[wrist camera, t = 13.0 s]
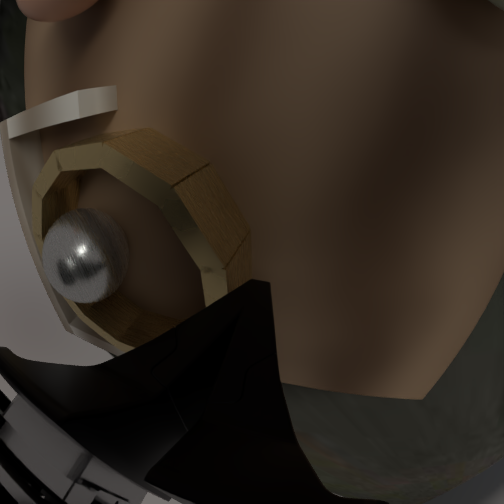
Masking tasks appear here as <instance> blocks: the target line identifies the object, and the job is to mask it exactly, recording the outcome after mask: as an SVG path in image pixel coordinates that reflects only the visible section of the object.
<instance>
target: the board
mask: <svg viewBox="0 0 504 504" xmlns="http://www.w3.org/2000/svg"><path fill="white" fill-rule="evenodd" d="M24 74H25V101H26V111H23V112H21V113H19V114H17V115H15V116H13V117H11V118H9V119H7V120H5V121H3V122H1V123H0V131H1V139H2V146H3V152H4V158H5V163H6V169H7V173H8V178H9V182H10V187H11V191H12V195H13V199H14V203H15V207H16V210H17V214H18V217H19V220H20V224H21V227H22V230H23V233H24V236H25V239H26V241H27V245H28V247H29V250H30V253H31V256H32V258H33V260H34V263H35V266H36V268H37V271H38V273H39V275H40V278H41V280H42V282H43V285H44V287H45V289H46V291H47V294H48V296H49V298H50V300H51V302H52V304H53V306H54V308H55V310H56V312H57V314H58V316H59V318H60V320H61V322H62V324H63V326H64V328H65V329H66V331H68V332H70V333H72V334H74V335H76V336H77V337H79V338H81V339H83V340H85V341H87V342H89V343H91V344H93V345H96V346H97V347H99V348H102V349H104V350H106V351H108V352H110V353H112V354H114V355H117V356H119V355H121V354H124V353H125V352H123V351H121V350H119V349H118V348H116V347H115V346H113V345H112V344H111V343H109V342H108V341H107V340H106V339H104V338H103V337H102V336H100V335H99V334H98V333H97V332H95V331H94V330H93V329H92V328H90V327H89V326H88V325H87V324H85V323H84V322H83V321H82V320H81V319H80V318H79V317H78V316H77V314H76V313H75V312H74V310H73V309H72V308H71V307H70V305H69V304H68V303H67V301H66V300H65V299H64V297H63V296H62V295H61V294H59V293H58V292H57V291H56V290H55V289H54V288H53V286H52V285H51V284H50V282H49V280H48V278H47V276H46V274H45V271H44V268H43V262H42V257H41V255H40V252H39V249H38V246H37V244H36V241H35V238H34V235H33V227H32V187H33V184H34V183H35V181H36V179H37V177H38V176H39V174H40V172H41V170H42V169H43V167H44V165H45V164H46V162H47V160H48V159H49V157H50V156H51V154H52V153H53V151H55V150H56V149H59V148H62V147H64V146H67V145H70V144H72V143H75V142H78V141H81V140H84V139H87V138H90V137H93V136H96V135H99V134H103V133H109V132H116V131H123V130H131V129H139V128H148V127H150V128H153V129H155V130H157V131H158V132H160V133H162V134H164V135H165V136H167V137H169V138H171V139H172V140H174V141H176V142H178V143H179V144H181V145H183V146H185V147H186V148H188V149H190V150H191V151H193V152H195V153H196V154H198V155H200V156H202V157H203V158H205V159H207V160H208V161H210V164H213V166H214V168H215V169H216V171H217V173H218V174H219V176H220V178H221V179H222V181H223V183H224V184H225V186H226V188H227V189H228V191H229V193H230V194H231V196H232V198H233V199H234V201H235V203H236V204H237V206H238V208H239V209H240V211H241V213H242V214H243V216H244V218H245V219H246V221H247V223H248V224H249V226H250V230H251V245H252V279H257V280H262V281H268V282H270V283H271V293H272V303H273V313H274V324H275V335H276V345H277V355H278V366H279V373H280V380H281V382H283V383H288V384H293V385H298V386H304V387H309V388H315V389H321V390H328V391H334V392H342V393H349V394H357V395H366V396H376V397H388V398H402V399H423V398H424V397H425V395H426V394H427V393H428V392H429V391H430V389H431V388H432V387H433V386H434V384H435V383H436V382H437V381H438V379H439V378H440V377H441V375H442V374H443V373H444V371H445V370H446V369H447V367H448V366H449V365H450V363H451V362H452V361H453V359H454V358H455V356H456V355H457V353H458V352H459V350H460V349H461V348H462V346H463V344H464V343H465V341H466V340H467V338H468V337H469V335H470V334H471V332H472V330H473V329H474V327H475V325H476V324H477V322H478V320H479V319H480V317H481V315H482V313H483V312H484V310H485V308H486V306H487V304H488V303H489V301H490V299H491V297H492V295H493V293H494V291H495V289H496V287H497V285H498V283H499V281H500V279H501V277H502V274H503V272H504V11H503V10H501V9H500V8H498V7H497V6H495V5H494V4H492V3H491V2H490V1H488V0H98V1H97V2H96V3H95V4H94V5H93V6H91V7H90V8H89V9H87V10H86V11H84V12H82V13H81V14H79V15H76V16H74V17H72V18H69V19H66V20H63V21H58V22H50V23H48V22H38V21H35V20H32V19H30V18H28V17H27V27H26V39H25V65H24ZM210 164H209V165H210ZM78 208H93V209H97V210H100V211H102V212H104V213H106V214H108V215H109V216H111V217H112V218H113V219H114V220H115V221H116V222H117V223H118V224H119V225H120V227H121V228H122V230H123V231H124V233H125V236H126V238H127V241H128V245H129V253H130V257H129V266H128V270H127V273H126V276H125V278H124V280H123V282H122V283H121V285H120V286H119V287H118V289H117V291H119V292H120V293H121V294H123V295H124V296H125V297H127V298H128V299H129V300H131V301H132V302H134V303H135V304H136V305H138V306H139V307H140V308H142V309H143V310H147V311H150V312H154V313H157V314H161V315H164V316H168V317H171V318H175V319H183V318H188V317H191V316H193V315H194V314H196V313H197V312H199V311H201V310H202V309H204V308H205V307H206V304H205V298H204V291H203V284H202V277H201V270H200V269H199V267H198V266H197V265H196V263H195V262H194V260H193V259H192V257H191V256H190V254H189V253H188V251H187V250H186V248H185V247H184V245H183V244H182V242H181V241H180V239H179V238H178V236H177V235H176V233H175V232H174V230H173V229H172V227H171V226H170V224H169V223H168V221H167V220H166V218H165V217H164V215H163V213H162V212H161V210H160V209H159V207H158V206H157V205H156V204H154V203H153V202H151V201H150V200H148V199H147V198H145V197H144V196H142V195H141V194H139V193H138V192H136V191H135V190H133V189H132V188H131V187H129V186H128V185H126V184H125V183H123V182H122V181H120V180H119V179H117V178H116V177H114V176H113V175H111V174H110V173H108V172H107V171H105V170H104V169H102V168H96V169H90V170H89V171H88V172H87V173H86V174H85V175H84V176H83V178H82V181H81V187H80V194H79V201H78Z"/></svg>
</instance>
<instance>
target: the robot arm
mask: <svg viewBox="0 0 504 504" xmlns="http://www.w3.org/2000/svg"><path fill="white" fill-rule="evenodd" d="M0 374H1V375H2V376H3V378H4V379H5V380H6V381H7V382H8V384H9V385H10V386H11V387H12V388H13V389H14V390H15V391H16V392H17V393H18V394H17V396H16V397H15V398H14V400H13V401H12V402H11V401H10V400H9V399H8V398H7V396H6V395H5V394H4V393H3V392H2V391H1V390H0V504H141V503H142V501H143V499H144V497H145V495H146V494H147V492H150V493H152V494H154V495H156V496H158V497H160V498H162V499H164V500H167V501H170V499H171V498H173V499H175V500H177V501H178V502H180V503H182V504H389V503H387V502H385V501H381V500H373V499H354V498H345V497H340V496H337V495H335V494H333V493H331V492H330V491H328V490H327V489H326V488H325V486H324V485H323V484H322V482H321V481H320V479H319V477H318V476H317V474H316V472H315V471H314V469H313V467H312V466H311V464H310V462H309V461H308V459H307V457H306V456H305V454H304V452H303V451H302V449H301V447H300V445H299V443H298V441H297V438H296V435H295V432H294V429H293V426H292V422H291V419H290V415H289V411H288V408H287V404H286V400H285V397H284V393H283V388H282V384H281V380H280V373H279V366H278V355H277V345H276V335H275V324H274V313H273V303H272V293H271V283H270V282H268V281H262V280H257V279H250V280H248V281H247V282H245V283H244V284H242V285H240V286H239V287H237V288H236V289H234V290H233V291H231V292H229V293H228V294H226V295H225V296H223V297H221V298H220V299H218V300H217V301H215V302H213V303H212V304H210V305H209V306H207V307H205V308H204V309H202V310H201V311H199V312H197V313H196V314H194V315H193V316H191V317H189V318H188V319H186V320H185V321H183V322H181V323H180V324H178V325H176V326H175V327H173V328H171V329H170V330H168V331H166V332H165V333H163V334H161V335H160V336H158V337H156V338H154V339H153V340H151V341H149V342H147V343H145V344H143V345H141V346H139V347H137V348H134V349H132V350H130V351H128V352H126V353H124V354H121V355H119V356H117V357H115V358H113V359H111V360H108V361H106V362H104V363H101V364H98V365H94V366H75V365H64V364H55V363H46V362H39V361H32V360H27V359H24V358H21V357H19V356H17V355H15V354H14V353H13V352H12V351H11V350H9V349H8V348H7V347H0Z"/></svg>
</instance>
